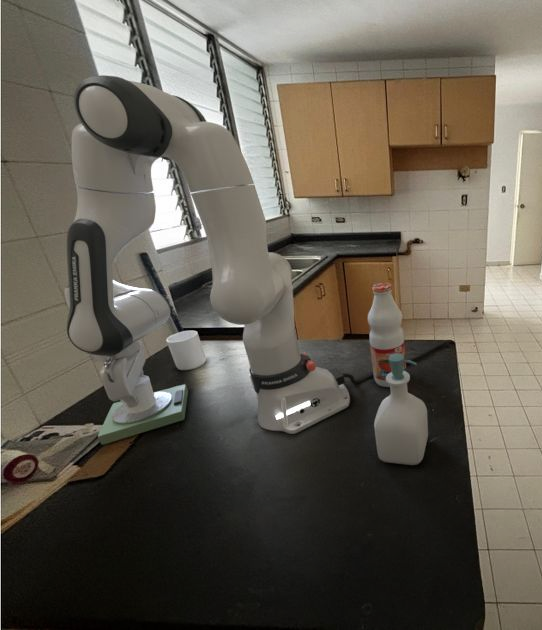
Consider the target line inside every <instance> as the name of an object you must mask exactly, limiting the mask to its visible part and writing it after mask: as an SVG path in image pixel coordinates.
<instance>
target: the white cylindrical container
mask: <svg viewBox="0 0 542 630" xmlns="http://www.w3.org/2000/svg"><path fill="white" fill-rule="evenodd" d="M133 392H134V393H133V394H134V396H135V397H137V398H138V400H139V403H138V405H137V406H136V407H132V408H129V407H128V405H127V403H126V402H125V401H123V400H120V402H121V401H122V403H123V405H124V406H125V408H126V409H127V411H128V412H129V413H131V414H132V413H140V412H143V411H145V410H148V409H149V408H151V407H152V406H154V405H155V403H156V400H155V396H154V393H153V392H154V390H153V386H152V383H151V379H150V376H149V375H146V374H145V375H141V376H139V379H138V381H137V384H136V386H135V388H134V391H133Z"/></svg>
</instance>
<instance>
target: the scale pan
mask: <svg viewBox="0 0 542 630" xmlns="http://www.w3.org/2000/svg"><path fill="white" fill-rule="evenodd" d="M153 393H154V396H155V400H156V403H155V405H154V406H152V407H151V408H149V409H148V410H145V411H143V412H140V413H132V414H131V413H129V412H128V411H127V409H126V408H125V406H124V405H121V406H120V407H119V408H117V409H116V410H115V412H114V413H113V415H112V420H113V421H114V422H115V423H117V424H131V423H136V422H140V421H143V420H145V419H148V418H150V417H152V416H154V415H156V414H158V413H160V412H161V411H163V410H164V409H165V408H166V407H168V406H169V404H170V403H171V401H172V396H171V394H169V393H167V392H158V391H153Z"/></svg>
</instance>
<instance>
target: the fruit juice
mask: <svg viewBox="0 0 542 630" xmlns="http://www.w3.org/2000/svg"><path fill="white" fill-rule="evenodd" d="M392 291H393V286H392V284H391V283H388V282H380V283H375V284H373V285H372V293H373V299H372V305H371V308H370V309H369V311H368V313H367V323H368V326H369V329H370V330H369V335H368V337H369V338H368V339H369V348H370V356H371V365H372V372H373V374H374V376H373V379H374V382H375V384H377V386H380V387H383V388H390V384H388V383H387V382H386V376H387V375H388V374H389V373H391V372H392V371H391V367H390V362H389V356H390V355H392V354H402V355H403V356H404V360H407V359H406V346H405V344H406V343H405V333H404V330H403V328H402V322H403V315H402V314H403V313H402V311H401V310H400V308H399V307H398V305H397V304H396V302H395V299H394V297H393V295H392ZM403 371H406V372H407V373H408V371H407V364H406V363H405V362H404V364H403Z"/></svg>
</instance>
